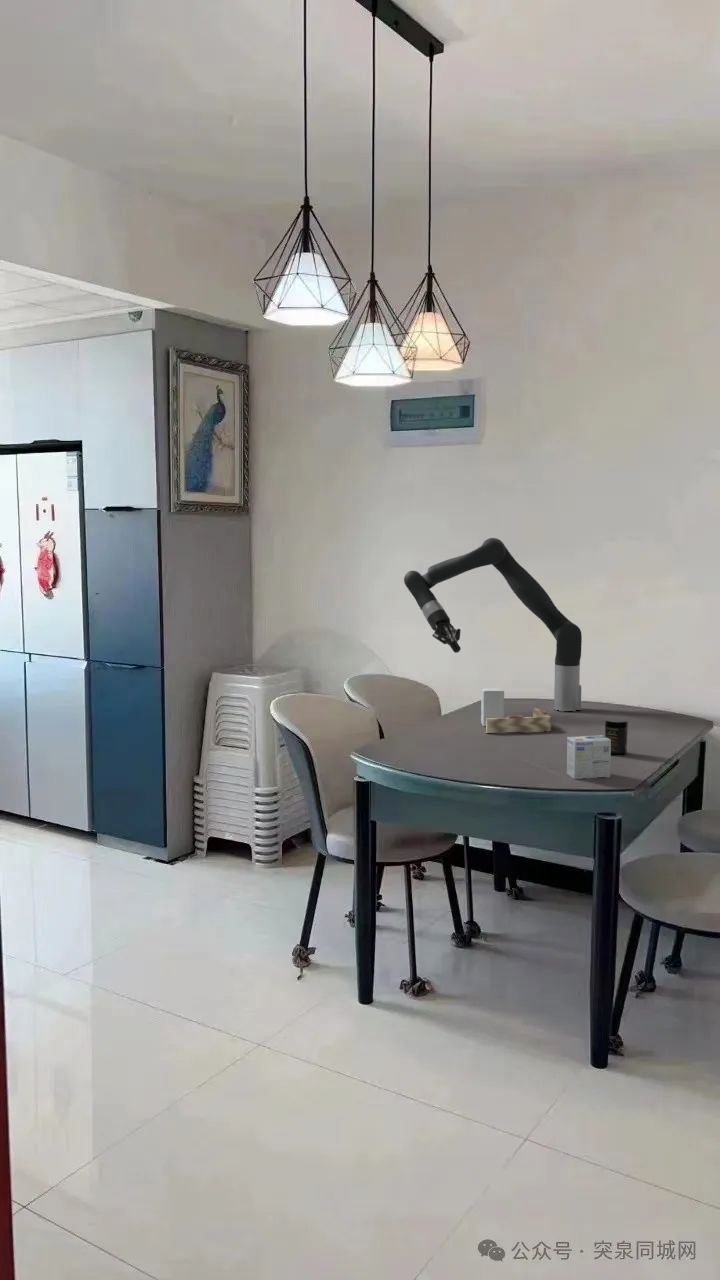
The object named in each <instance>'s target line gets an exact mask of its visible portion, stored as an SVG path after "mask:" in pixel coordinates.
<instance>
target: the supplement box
mask: <svg viewBox="0 0 720 1280" xmlns="http://www.w3.org/2000/svg"><path fill="white" fill-rule="evenodd" d="M480 691H481V694H480V695H481V697H480V698H481V699H480V700H481V701H480V702H481V703H480V707H481V708H480V710H481V711H480V723H481V725H482V726H483V727H485V726H486V718H505V690H504V689H503V688H502V687H482V688H481V690H480Z"/></svg>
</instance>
